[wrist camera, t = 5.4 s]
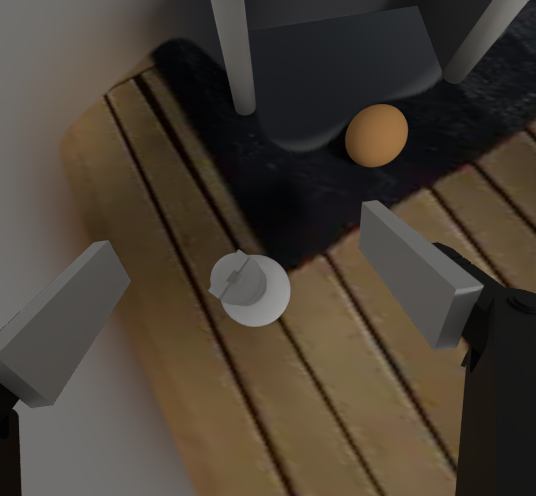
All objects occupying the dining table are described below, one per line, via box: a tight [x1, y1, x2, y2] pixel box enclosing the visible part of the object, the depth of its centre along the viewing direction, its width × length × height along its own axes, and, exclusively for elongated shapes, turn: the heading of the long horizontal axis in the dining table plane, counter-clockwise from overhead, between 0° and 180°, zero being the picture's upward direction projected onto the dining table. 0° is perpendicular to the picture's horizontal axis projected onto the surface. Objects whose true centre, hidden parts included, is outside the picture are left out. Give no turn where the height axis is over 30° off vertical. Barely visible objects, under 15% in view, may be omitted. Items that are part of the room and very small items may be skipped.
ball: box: [345, 104, 408, 167], centre depth 17 cm, size 4×4×4 cm
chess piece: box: [208, 250, 290, 327], centre depth 12 cm, size 5×5×10 cm
